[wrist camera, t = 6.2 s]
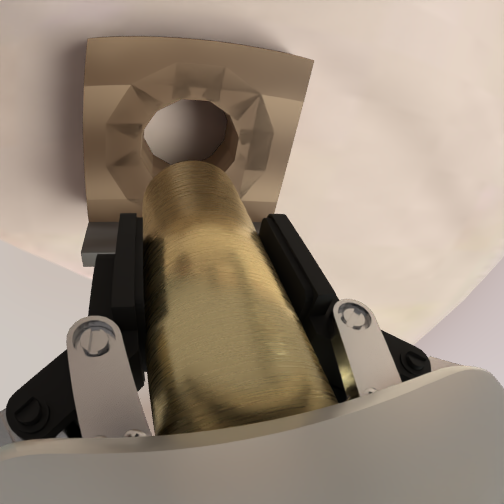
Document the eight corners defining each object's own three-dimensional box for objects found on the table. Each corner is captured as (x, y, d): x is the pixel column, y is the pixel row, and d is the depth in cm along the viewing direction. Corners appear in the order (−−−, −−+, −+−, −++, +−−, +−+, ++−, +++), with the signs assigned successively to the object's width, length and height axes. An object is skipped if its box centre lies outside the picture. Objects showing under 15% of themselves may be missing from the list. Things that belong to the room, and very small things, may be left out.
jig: (100, 37, 14) (71, 40, 9) (291, 54, 17) (340, 68, 13) (97, 206, 21) (83, 266, 16) (255, 207, 25) (282, 263, 20)
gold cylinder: (144, 159, 11) (151, 433, 4) (243, 163, 13) (377, 389, 5) (143, 243, 14) (165, 480, 6) (229, 242, 15) (308, 454, 8)
